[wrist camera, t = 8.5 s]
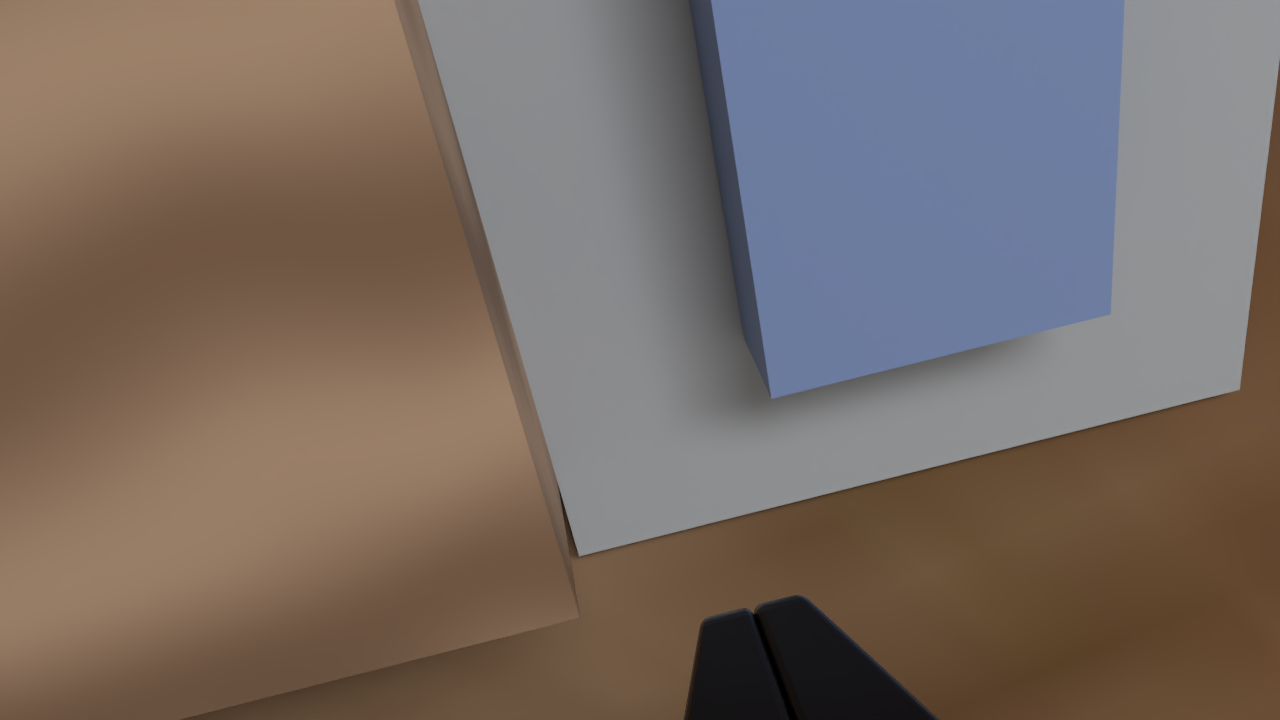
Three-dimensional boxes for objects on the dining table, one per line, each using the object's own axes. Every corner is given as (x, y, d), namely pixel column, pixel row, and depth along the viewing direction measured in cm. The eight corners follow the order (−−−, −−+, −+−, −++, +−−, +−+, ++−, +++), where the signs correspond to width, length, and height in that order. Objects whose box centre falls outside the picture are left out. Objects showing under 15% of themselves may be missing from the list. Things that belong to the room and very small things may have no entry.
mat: (1231, 381, 25) (1239, 390, 25) (577, 546, 24) (578, 556, 24) (1365, -778, 15) (1381, -784, 15) (263, -537, 14) (261, -539, 14)
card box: (771, 398, 20) (743, 336, 22) (1110, 314, 20) (1056, 259, 22) (686, -162, 15) (658, -187, 17) (1137, -267, 15) (1063, -281, 17)
